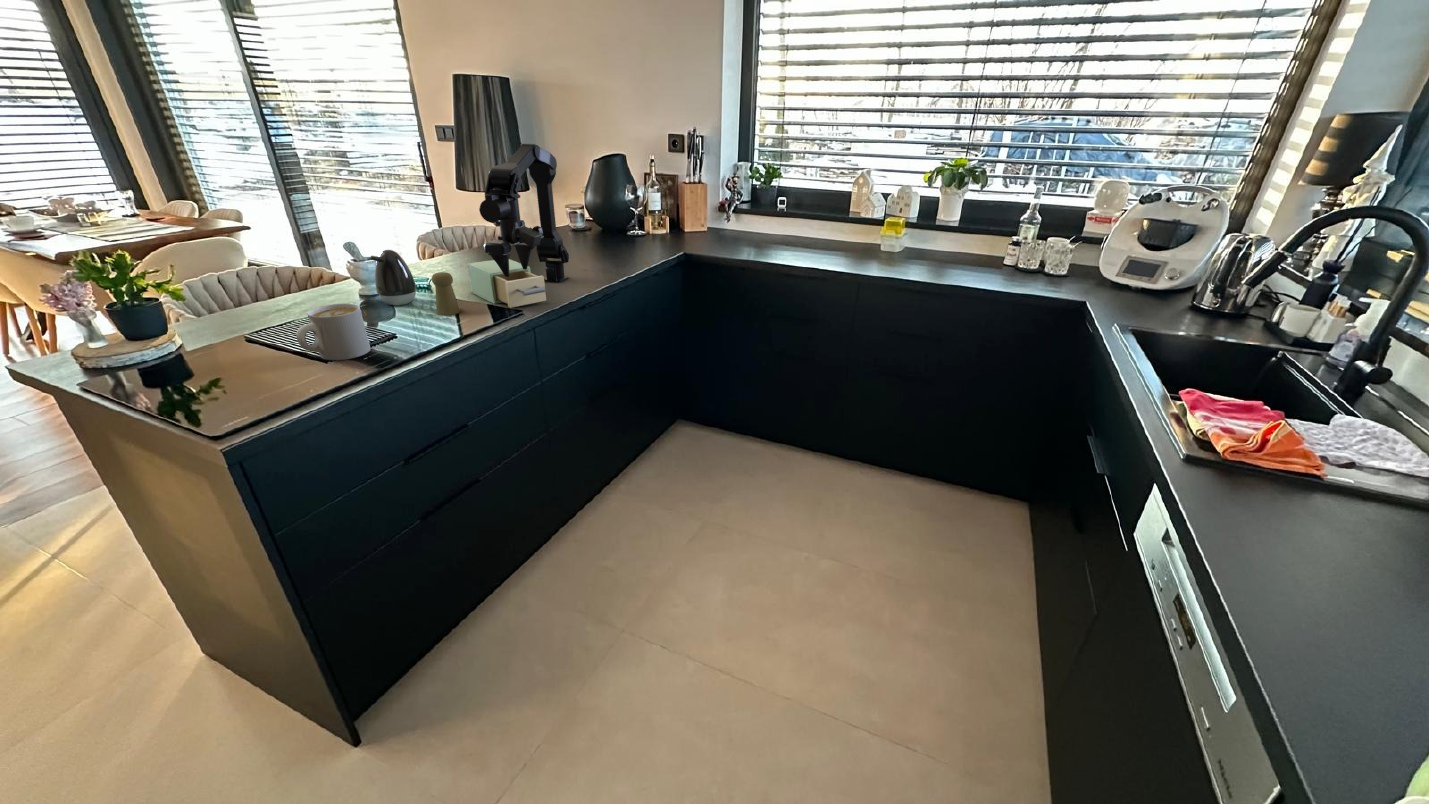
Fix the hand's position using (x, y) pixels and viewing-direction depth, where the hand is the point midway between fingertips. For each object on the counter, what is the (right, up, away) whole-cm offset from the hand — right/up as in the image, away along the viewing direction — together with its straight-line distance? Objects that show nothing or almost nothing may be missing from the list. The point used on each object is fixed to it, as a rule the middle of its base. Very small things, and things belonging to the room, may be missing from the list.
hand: (516, 272), depth 161 cm
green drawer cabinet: (-8, -4, +11) cm, 14 cm away
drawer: (0, -8, +3) cm, 8 cm away
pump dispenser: (-34, -9, 0) cm, 35 cm away
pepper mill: (-17, -13, -6) cm, 22 cm away
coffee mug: (-29, -27, -34) cm, 52 cm away
